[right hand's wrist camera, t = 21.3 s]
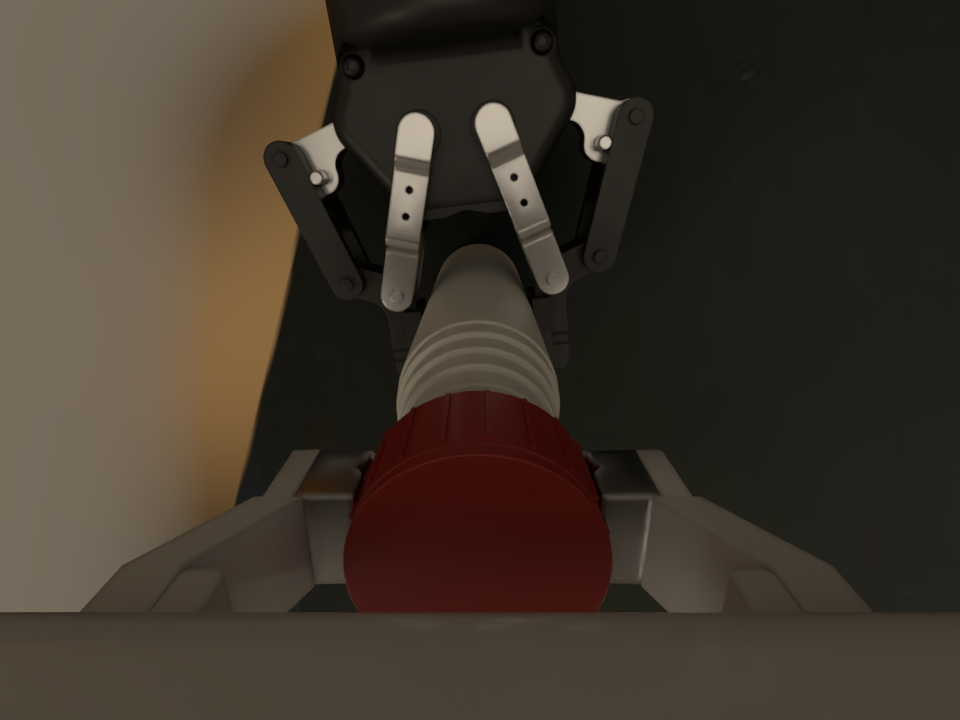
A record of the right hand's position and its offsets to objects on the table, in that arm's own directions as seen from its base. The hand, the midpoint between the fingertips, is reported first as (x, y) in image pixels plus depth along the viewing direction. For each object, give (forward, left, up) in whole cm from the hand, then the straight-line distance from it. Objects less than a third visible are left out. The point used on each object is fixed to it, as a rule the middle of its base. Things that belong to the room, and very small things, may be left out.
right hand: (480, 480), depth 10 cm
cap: (0, 0, +2) cm, 2 cm away
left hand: (-2, -2, -12) cm, 12 cm away
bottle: (0, 0, -18) cm, 18 cm away
